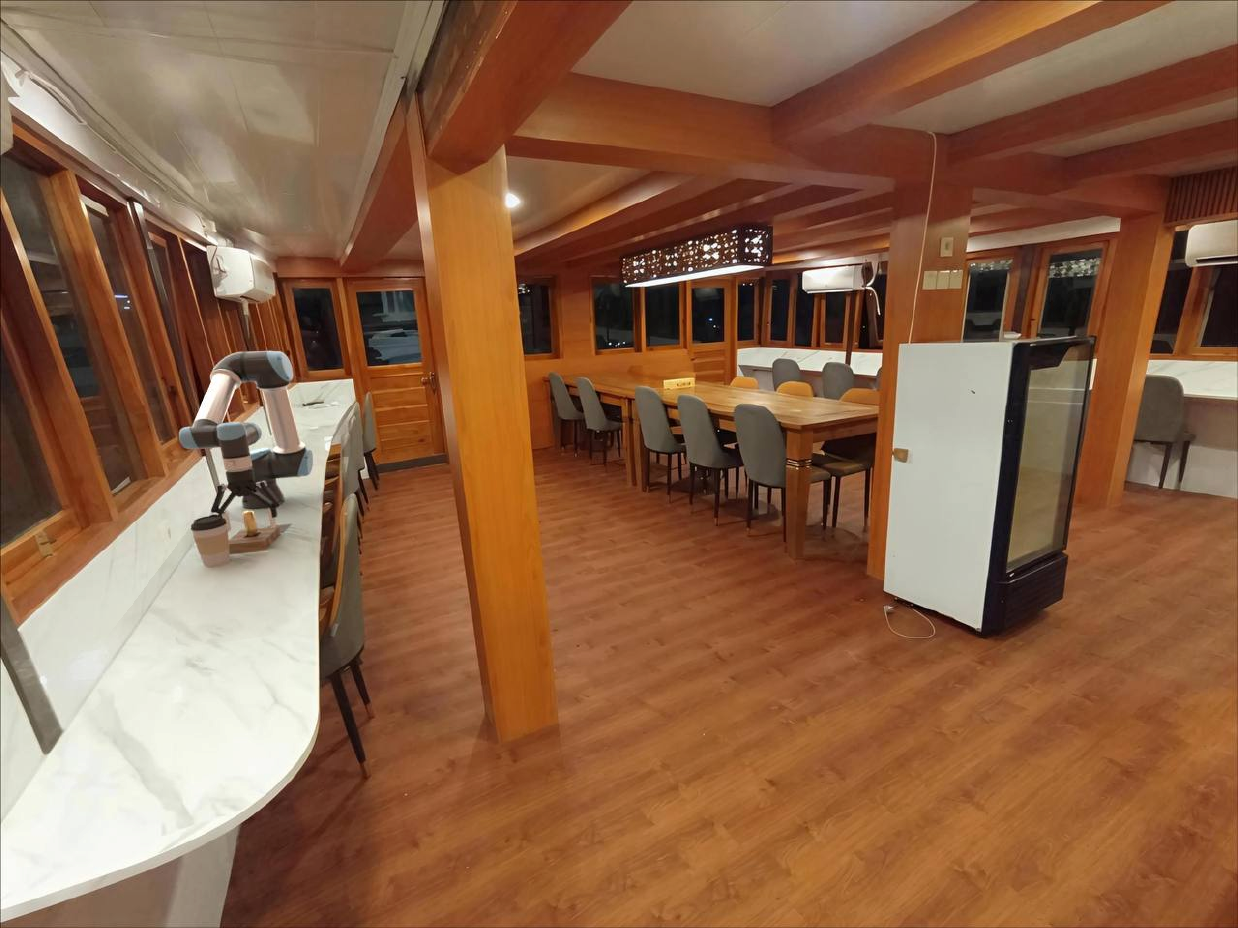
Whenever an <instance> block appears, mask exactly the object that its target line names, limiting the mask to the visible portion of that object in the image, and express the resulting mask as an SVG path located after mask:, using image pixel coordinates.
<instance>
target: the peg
mask: <svg viewBox="0 0 1238 928" xmlns="http://www.w3.org/2000/svg"><path fill="white" fill-rule="evenodd" d="M241 513H242V519H243V523H244V528H245V529H246V534H247V538H248V537H257V536H258V531H257V528H258V527H257V522H256V517H255V512H254V510H251V509H250V510H249V509H248V510H244V511H242V512H241Z"/></svg>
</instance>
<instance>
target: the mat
mask: <svg viewBox="0 0 1238 928" xmlns="http://www.w3.org/2000/svg"><path fill="white" fill-rule="evenodd" d="M276 526H279V527H280V533H281V534H285V532H286V531H287V530H288V529H289V528H290V527H291V526H292V523H285V524H276ZM267 527H271V525H267Z"/></svg>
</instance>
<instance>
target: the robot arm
mask: <svg viewBox="0 0 1238 928" xmlns="http://www.w3.org/2000/svg"><path fill="white" fill-rule="evenodd" d="M293 379H294V369H293V365H292V363H291V361H290V359H289V357H288V356H287V354H286V353H284V352H283V351H280V350H279V351H278V350H277V351H275V350H260V351H259V350H258V351H237V352H234V353H231V354H229V355H227V356H225V357H224V358H222V359H221V360H220V361H218V362H217V364H216V365H214V367H213V369H212V370H211V372H210V375H209V380H210V384H209V386H208V388H207V391H206V393H205V395H204V398H203V401H202V403H201V405H200V408H199V410H198V412H197V414H196V417H195V419H194V421H193V423H192V426H186V427H182V428H180V430H179V432H178V439H179V443H180V444H181V446H182V448H184V449H187V450H202V449H203V450H204V449H214V448H216V449H217V448H220V451H221V457H222V461H223V465H224V466H223V467H224V470H225V476H226V480H227V481H226V482H227V484H225V483H220V484H219V485H217V486H216V488H217V490H216V495H215V498H214V502H213V503H212V506H211V509H210V513H212V514H217V515H219V516H220V517H221V518H224V519H226V522H227V523H226V527H227V530H228V533H229V532H230V531H232V525H231V520H230V516H229V515H230V514H229V511H226V510H227V508H228V507H229V505H231V503H232V502H233V500H234V499H235V497H238V498H242V499H241V506H242V508H244V509H248V510H249V509H250V510H251V509H262V508H263V509H265V508H268V509H267V515H268V520H269V526H271V528H274V527H275V526H276V525H277V522H276V521H277V520H276V518H277V517H278V512H277V511H278V510H277V508H278V507H280V506H282V503H283V502H284V501H285V500H286V499H285V495H284V493H283V492H282V490H281V488H280V487H279V485H278V483H277V479H287V478H288V479H289V478H301V477H307V476H309V475H310V474H311V473H312V471H313V465H314V455H313V451H312V450H311V449H310V448H307V447H306V444H305V443H304V442H302V441H301V439H300V436H299V431H298V428H297V424H296V420H295V415H294V412H293V411H294V410H293V407H292V404H291V399H290V396H289V390H288V387H289V386H290V385H291V381H292V380H293ZM243 383H255V386H256V387H255V388H257V389H258V390H260V391H261V392H262V396H263V399H264V403H265V406H266V410H267V411H266V412H267V413H268V418H269V422H270V427H271V429H272V433H273V437H274V441H275V444H276V445H275V446H274V447H273V451H272V449H271V448H270V447H262V448H257V449H253V450H250V447H249V446H251V445H254V444H256V443H257V442H258V441H259V440H261V437H262V435H263V434H262V433H263V432H262V429H261V428H260V426H259V425H258V424H256V423H254V422H251V421H250V422H242V421H230V422H229V421H228V422H224V420H225V417H226V414H227V412H228V409H229V407H230V405H231V401H232V398H233V396H234V394H235V390H236V389H239V388H240V386H241V384H243ZM223 422H224V423H223ZM227 489H228V491H230V492H231V493H230V494H229V495H228V497H227V498H226V500H225V501H224V502H223V503H222V500H223V497H224V495H225V491H227ZM221 503H222V505H221ZM220 505H221V507H220Z"/></svg>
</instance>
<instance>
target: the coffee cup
mask: <svg viewBox="0 0 1238 928" xmlns="http://www.w3.org/2000/svg"><path fill="white" fill-rule="evenodd" d="M226 523H227V522H226V519H224V518H221V517H220V516H219V514H218V513H212V514H210V515H207V516H204V517H200V518H197V519H195V520H193V523H192V524H190V526H191V527H190V531H192V533H193V539H194V542H195V545H196V548H197V551H198V553H199V555H200V558H201V560H202V564H203V565H204V567H207V568H208V567H209V568H212V567H218V566H221V565H225V564H227V563H229V562H230V561H231V553H230V552H229V540H230V539H229V532H228V530H227V527H226Z"/></svg>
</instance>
